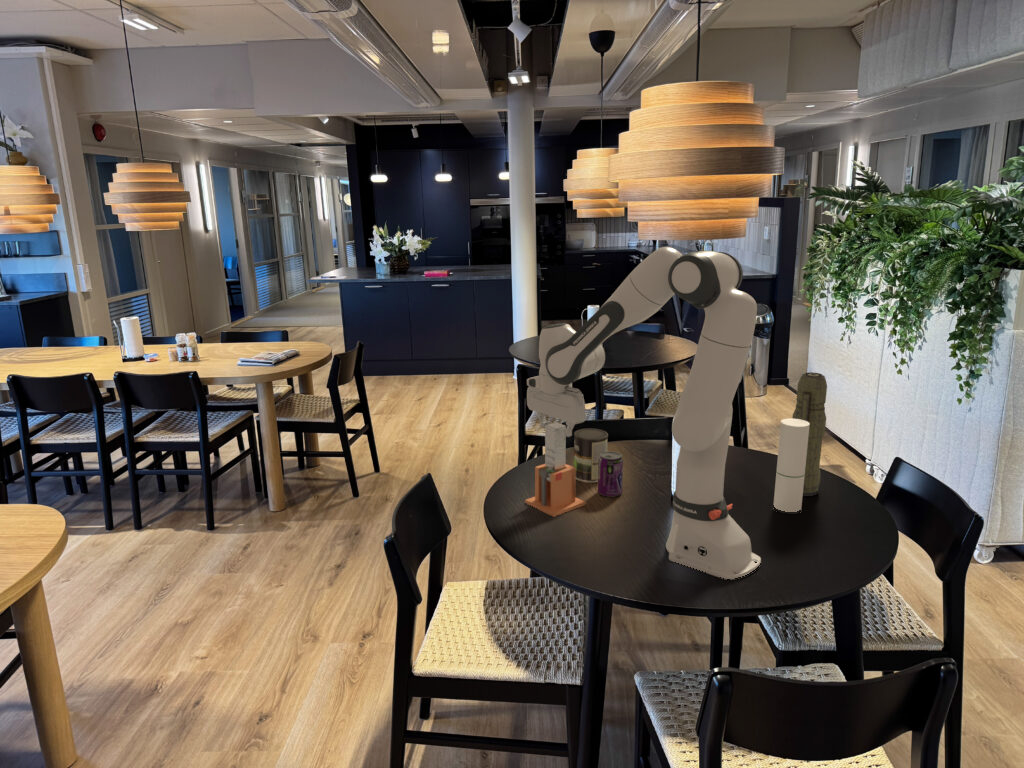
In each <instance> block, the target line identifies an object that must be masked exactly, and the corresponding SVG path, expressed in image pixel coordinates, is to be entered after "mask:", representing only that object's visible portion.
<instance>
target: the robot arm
mask: <svg viewBox="0 0 1024 768" xmlns="http://www.w3.org/2000/svg"><path fill="white" fill-rule="evenodd" d="M743 278H744V271H743V266H742V264H741V263H740V261H739V260H738V259H737V258H736V256H733V255H732V254H730V253H727V252H724V251H713V250H701V251H691V252H687V253H685V254H682V253H681V252H680V251H678V249H676V248H674V247H669V246H661V247H659V248H657V249H656V250H654V251H652V253H650V254H649V255H648V256H647V257H646V258H644V259H643V260H642V261H641V262H640V263H639V264H638V265H637V266H636V267H634V268H633V270H632V271H631V272H630V273H629V274H628V275H627V276H626V277H625V279H623V281H622V282H621V283H620V285H619V286H618V287H617V288H616V289H615V291H614V292H613V293H611V296H610V297H608V299H607V300H606V301H605V302H604V303H603V304H602V305H601V307H599V309H598V310H597V311H596V312H595V313H594V314H593V315H592V316H591V317H589V319H588V320H587V321H586V322H584V323H583V324H582V325H581V326H580V328H578V330H577V331H576V330H575V329H574V328H573V327H572V326H571V325H570V324H569V323H567V322H566V323H564V322H561V323H555V324H554V323H553V324H550V325H546V326H544V327H543V328H542V329H541V331H540V334H539V341H538V343H539V345H538V359H539V361H540V366H539V371H538V375H537V376H533V377H529V378H527V379H526V386H528V387H527V390H526V405H527V407H528V409H529V410H530V411H532V412H536V416H537V418H538V421H539V423H540V425H539V426H540V428H541V429H544V430H545V425H548V424H549V421H547V418H546V416H549V417H550V418H551V417H552V418H555V419H558V420H560V421H564V422H565V426H566V429H564V436H566V438H570V437H572V436H573V429H574V427H575V425H578V424H582V423H584V422H585V421H586V419H587V413H586V411H587V410H586V402H585V399H584V394H583V392H582V391H581V390H580V389H579V388H576V387H573V383H574V382H577V381H578V380H580V379H582V378H585V377H589V376H590V375H593V374H595V373H597V372H599V371H600V370H602V368H603V367H604V365H605V363H606V351H605V348H604V346H603V345H602V344H603V343H604V342H605V341H606V340H607V339H608V338H610V337H611V336H612V335H615V334H616V333H618V332H620V331H622V330H625V329H626V328H630V327H633V326H634V325H638V324H641V323H643V322H644V321H647V320H648V319H649V318H650V317H652V316H653V315H654V314H656V313H657V312H659V311H660V310H661V309H662V308H663V306H664V305H665V304H667V302H668V301H669V300H670V299H671V298H673V296H675V295H676V297H678V298H680V299H681V300H683V301H685V302H687V303H689V304H690V305H691V306H693V307H694V308H696V309H697V310H701V309H703V310H704V314H705V315H704V321H703V326H702V330H701V332H700V336H699V339H698V343H697V346H696V349H695V350H696V351H695V355H694V357H693V362H692V366H691V368H690V371H689V374H688V377H687V378H686V382H685V384H684V387H683V390H682V392H681V395H680V399H679V401H678V405H677V407H676V411H675V413H674V416H673V420H672V423H671V432H672V434H671V435H672V437H673V439H674V441H675V442H676V443H677V444H678V446H680V448H679V453H678V457H677V460H676V470H675V471H676V472H675V474H676V475H675V490H674V492H673V494H672V495H673V497H672V508H673V516H672V521H671V528H670V531H669V535H668V538H667V540H666V543H665V548H666V550H667V552H668V560H669V561H670V562H673V563H675V562H676V564H678V563H679V565H681V564H682V566H684V565H685V566H684V567H687V566H688V568H690V567H691V569H693V568H694V570H696V569H697V570H696V571H699V570H700V572H702V571H703V572H702V573H705V572H706V574H709V575H711V576H714V577H717V578H720V577H721V578H720V579H723V578H724V579H723V580H727V579H730V580H736V579H735V578H738V577H741V578H743V577H742V576H744V577H746V576H745V575H747V574H749V573H750V572H752V571H753V570H755V569H756V568H757V567H758V566H759V565H760V563H761V564H762V558H761V556H759V555H758V554H756V553H754V552H752V543H751V538H750V536H749V535H748V534H747V533H746V532H745V531H744V530H743V528H742V527H740V525H739V524H738V523H737V522H736V521H735V519H734V518H733V517H731V515H730V514H729V510H731V509H732V508H733V503H730V504H728V505H727V502H726V499H725V497H724V483H725V473H726V471H725V470H726V463H727V455H728V450H729V443H730V436H731V429H732V428H731V427H732V422H733V421H732V420H733V412H734V411H733V410H734V409H733V402H734V398H735V395H736V392H737V389H738V387H739V385H740V382H741V379H742V376H743V373H744V368H745V365H746V362H747V359H748V355H749V353H750V349H751V346H752V341H753V338H754V334H755V328H756V323H757V314H758V313H757V312H758V305H757V302H756V300H755V299H754V297H753V296H752V295H750V294H749V293H747V292H745V291H742V290H739V288H740V286H741V284H742V282H743ZM755 562H757V563H755ZM760 566H761V565H760ZM760 566H759V567H760ZM755 571H756V570H755ZM752 573H753V572H752ZM749 575H750V574H749ZM747 576H748V575H747ZM738 579H739V578H738Z"/></svg>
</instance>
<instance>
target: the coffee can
mask: <svg viewBox="0 0 1024 768" xmlns="http://www.w3.org/2000/svg"><path fill="white" fill-rule="evenodd" d="M573 436H574V437H573V438H574V439H573V440H574V441H573V442H574V443H573V445H574V449H573V450H574V451H573V467H575V468H576V480H577V481H579V482H583V483H588V484H589V483H590V484H593V483H594V484H595V483H596V482H597V483H598V460H599V458H600V454H601V453H602V452H607V451H608V438H609V433H608V432H607V431H605V430H603V429H599V428H591V427H590V428H588V427H587V428H580V429H577V430H575V431H574V432H573Z"/></svg>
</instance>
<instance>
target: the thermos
mask: <svg viewBox="0 0 1024 768" xmlns="http://www.w3.org/2000/svg"><path fill="white" fill-rule="evenodd" d="M796 389H797V390H796V399H795V400H796V404H795V409H794V410H793V411H794V412H793V413H792V417H791V418H792V419H801V420H805V421H807V422H809V423H810V425H809V436H808V446H807V456H806V466H805V476H804V486H803V493H813V492H816V491H818V492H819V487H820V484H821V476H822V475H821V469H820V466H821V465H820V462H821V454H822V443H823V438H824V436H825V433H826V425H827V424H826V423H827V415H826V411H825V410H826V407H825V403H826V401H827V400H826V399H827V390H828V383H827V379H826V376H825V375H823V374H822V373H819V372H805V373H802V374H801V376H800V377H799V380H798V382H797V388H796Z"/></svg>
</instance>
